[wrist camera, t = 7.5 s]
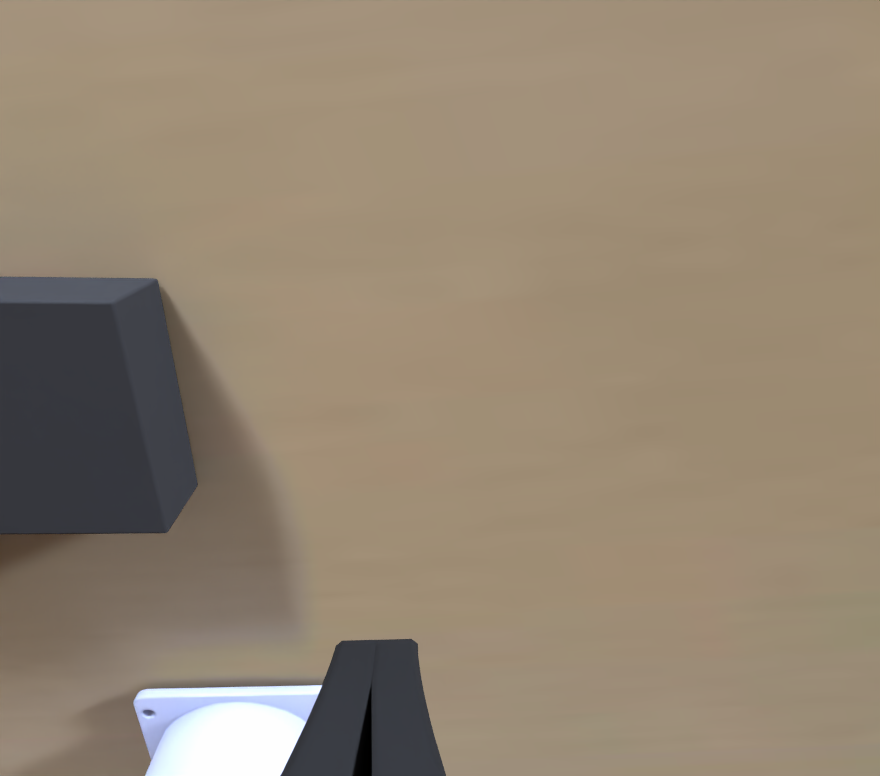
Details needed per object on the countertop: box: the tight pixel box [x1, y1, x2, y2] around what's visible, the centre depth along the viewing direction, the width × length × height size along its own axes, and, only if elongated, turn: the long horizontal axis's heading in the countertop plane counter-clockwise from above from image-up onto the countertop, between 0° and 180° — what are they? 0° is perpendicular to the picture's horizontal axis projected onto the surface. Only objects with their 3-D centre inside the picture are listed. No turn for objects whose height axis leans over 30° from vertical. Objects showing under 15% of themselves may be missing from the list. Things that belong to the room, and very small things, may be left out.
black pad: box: [0, 277, 198, 534], centre depth 15 cm, size 7×9×2 cm
